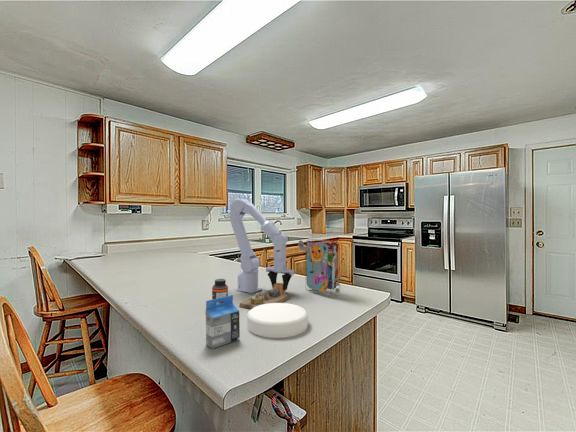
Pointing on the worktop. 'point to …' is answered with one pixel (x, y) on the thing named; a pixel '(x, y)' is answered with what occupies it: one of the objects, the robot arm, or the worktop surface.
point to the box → (321, 265)
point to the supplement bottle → (219, 290)
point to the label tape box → (221, 322)
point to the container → (277, 320)
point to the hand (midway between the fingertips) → (279, 288)
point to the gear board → (265, 298)
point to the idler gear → (280, 287)
